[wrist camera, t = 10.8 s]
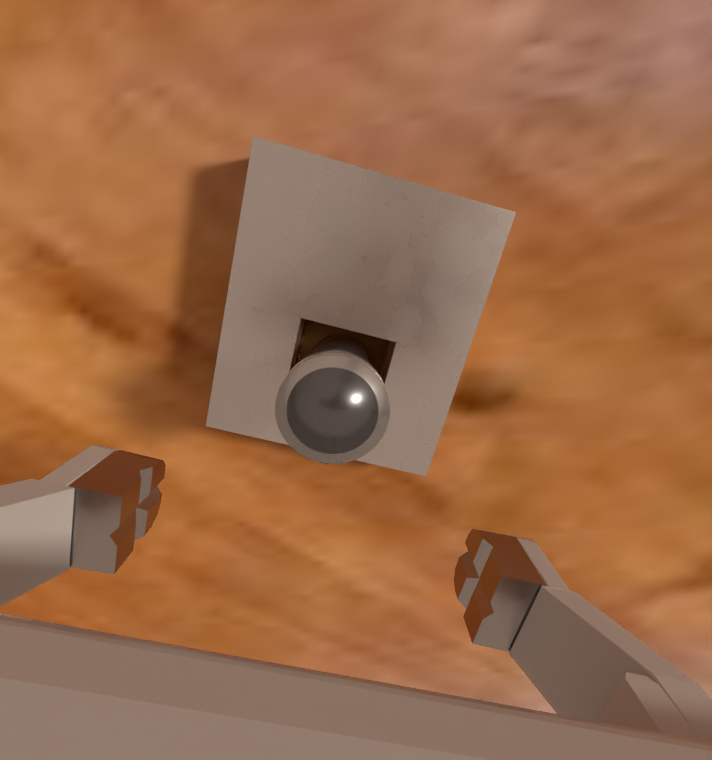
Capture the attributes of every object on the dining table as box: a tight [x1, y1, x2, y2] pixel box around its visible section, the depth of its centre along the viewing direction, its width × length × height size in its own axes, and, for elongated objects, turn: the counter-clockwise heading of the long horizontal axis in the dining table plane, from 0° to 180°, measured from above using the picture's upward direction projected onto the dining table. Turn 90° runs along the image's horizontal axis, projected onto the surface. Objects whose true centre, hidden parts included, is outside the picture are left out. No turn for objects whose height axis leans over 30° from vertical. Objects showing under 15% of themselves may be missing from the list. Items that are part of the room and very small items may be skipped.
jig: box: [206, 136, 516, 476], centre depth 23 cm, size 16×14×3 cm
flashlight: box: [275, 335, 390, 464], centre depth 21 cm, size 5×5×9 cm
